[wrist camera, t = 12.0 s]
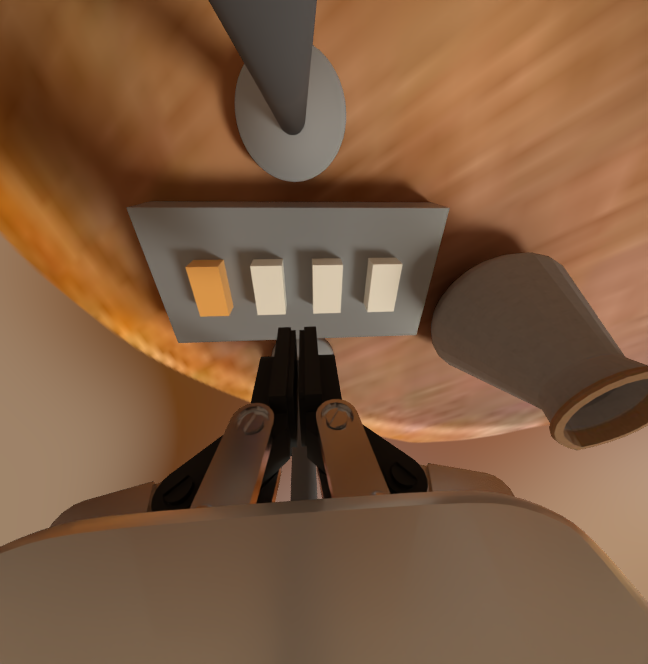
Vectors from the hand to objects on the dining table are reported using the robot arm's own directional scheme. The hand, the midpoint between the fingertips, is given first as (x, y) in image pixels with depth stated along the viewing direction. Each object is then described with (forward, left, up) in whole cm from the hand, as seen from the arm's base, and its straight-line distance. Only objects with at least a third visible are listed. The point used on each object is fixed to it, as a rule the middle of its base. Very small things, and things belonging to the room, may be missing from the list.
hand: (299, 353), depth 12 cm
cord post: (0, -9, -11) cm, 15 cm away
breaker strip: (0, 0, -11) cm, 11 cm away
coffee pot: (-22, +4, -12) cm, 25 cm away
